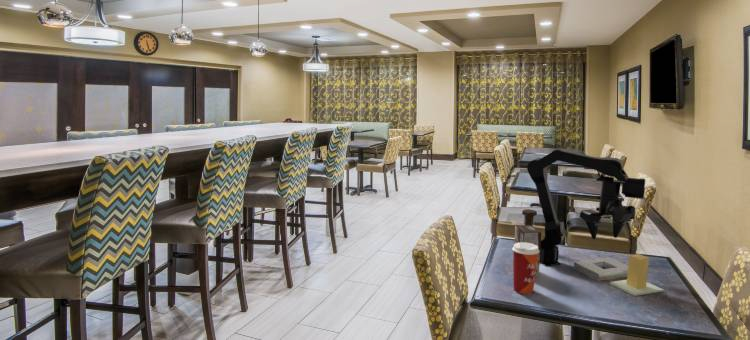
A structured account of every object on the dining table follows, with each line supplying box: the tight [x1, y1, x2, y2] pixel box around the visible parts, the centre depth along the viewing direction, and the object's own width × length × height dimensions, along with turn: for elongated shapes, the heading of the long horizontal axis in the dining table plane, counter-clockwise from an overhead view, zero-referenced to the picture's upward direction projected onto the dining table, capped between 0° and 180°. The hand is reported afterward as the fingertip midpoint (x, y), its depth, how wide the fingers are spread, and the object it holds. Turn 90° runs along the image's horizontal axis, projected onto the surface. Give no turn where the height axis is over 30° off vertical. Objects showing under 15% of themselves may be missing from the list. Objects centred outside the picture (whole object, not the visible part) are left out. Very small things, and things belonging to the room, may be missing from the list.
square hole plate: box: [573, 257, 628, 282], centre depth 171 cm, size 16×12×2 cm
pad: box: [609, 279, 664, 297], centre depth 158 cm, size 12×10×1 cm
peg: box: [626, 253, 650, 289], centre depth 157 cm, size 4×4×10 cm
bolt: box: [521, 208, 537, 227], centre depth 197 cm, size 6×5×15 cm
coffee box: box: [513, 224, 542, 278], centre depth 169 cm, size 9×6×16 cm
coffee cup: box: [511, 242, 540, 295], centre depth 154 cm, size 8×8×15 cm
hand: (604, 238), depth 169 cm, fingers open, 9 cm apart
